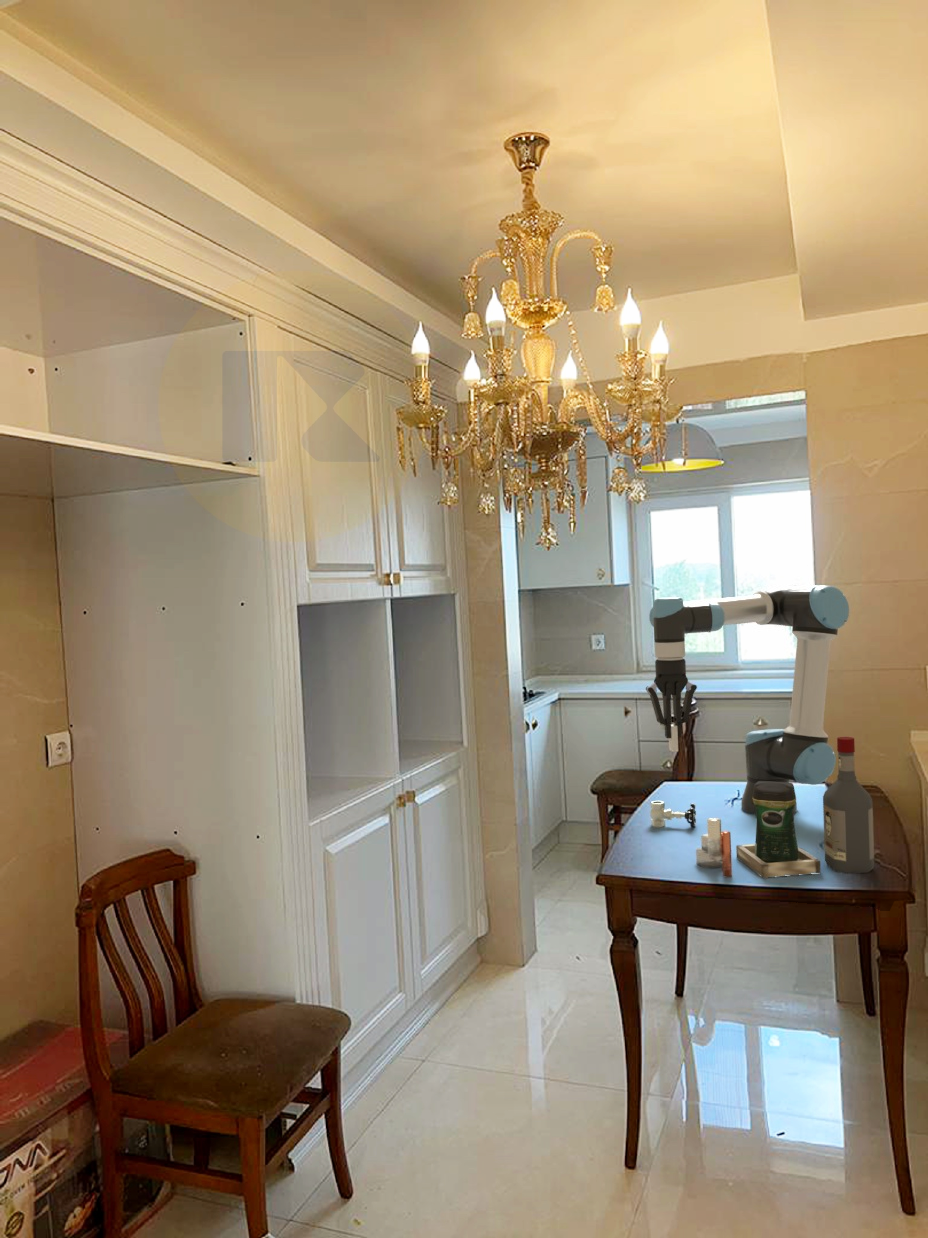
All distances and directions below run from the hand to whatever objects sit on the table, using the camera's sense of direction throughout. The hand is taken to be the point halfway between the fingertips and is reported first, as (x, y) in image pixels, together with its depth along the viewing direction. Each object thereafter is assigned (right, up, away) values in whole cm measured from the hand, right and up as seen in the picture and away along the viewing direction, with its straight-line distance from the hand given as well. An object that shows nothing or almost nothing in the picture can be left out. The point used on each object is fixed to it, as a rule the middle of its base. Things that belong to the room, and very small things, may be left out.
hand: (673, 750), depth 230 cm
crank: (+5, -22, -19) cm, 29 cm away
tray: (+20, -24, -18) cm, 36 cm away
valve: (+4, -24, +18) cm, 30 cm away
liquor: (+35, -24, -22) cm, 48 cm away
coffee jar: (+20, -23, -18) cm, 36 cm away
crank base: (+6, -25, -18) cm, 31 cm away
